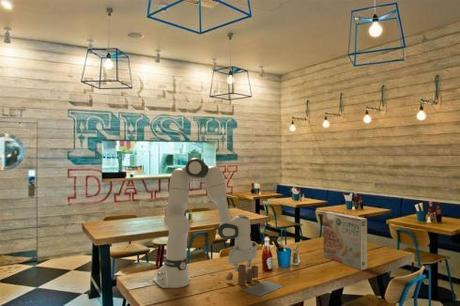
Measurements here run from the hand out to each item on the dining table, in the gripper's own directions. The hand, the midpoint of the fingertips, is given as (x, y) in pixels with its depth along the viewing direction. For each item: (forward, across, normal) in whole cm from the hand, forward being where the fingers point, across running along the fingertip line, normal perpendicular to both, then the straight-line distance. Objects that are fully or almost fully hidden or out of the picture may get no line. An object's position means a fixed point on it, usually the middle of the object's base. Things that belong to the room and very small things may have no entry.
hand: (242, 269), depth 202 cm
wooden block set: (+7, -1, -1) cm, 7 cm away
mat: (+7, 0, -15) cm, 16 cm away
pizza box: (+7, +68, -26) cm, 73 cm away
